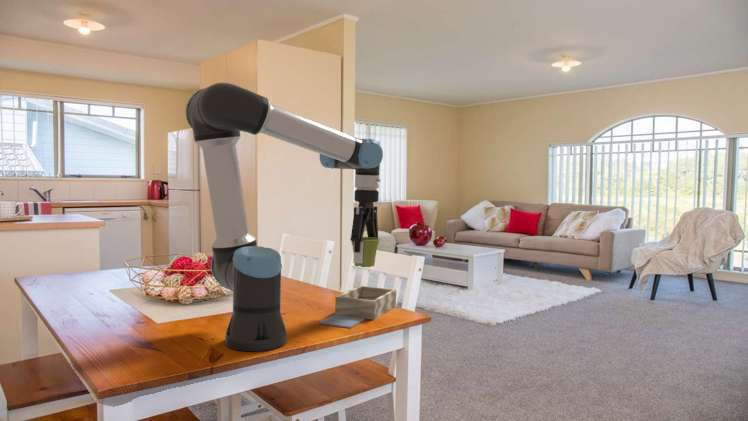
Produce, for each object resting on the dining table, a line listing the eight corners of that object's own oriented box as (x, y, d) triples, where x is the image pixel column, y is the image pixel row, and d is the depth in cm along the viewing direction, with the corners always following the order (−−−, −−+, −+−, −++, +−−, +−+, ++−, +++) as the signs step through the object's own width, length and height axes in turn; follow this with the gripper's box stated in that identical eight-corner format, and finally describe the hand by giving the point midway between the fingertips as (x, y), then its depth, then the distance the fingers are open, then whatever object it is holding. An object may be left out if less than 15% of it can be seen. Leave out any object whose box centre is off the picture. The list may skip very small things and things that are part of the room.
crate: (374, 319, 156) (375, 301, 156) (335, 314, 161) (335, 296, 161) (395, 306, 174) (396, 289, 174) (359, 301, 179) (360, 285, 179)
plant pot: (353, 268, 159) (354, 240, 159) (346, 263, 168) (347, 236, 168) (382, 268, 162) (383, 240, 161) (374, 263, 171) (375, 236, 170)
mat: (350, 328, 147) (350, 326, 147) (318, 323, 150) (318, 322, 150) (364, 319, 156) (364, 318, 156) (334, 315, 160) (334, 314, 160)
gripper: (364, 189, 152) (361, 266, 153) (390, 189, 173) (387, 257, 174) (340, 188, 155) (338, 264, 156) (368, 189, 175) (366, 255, 177)
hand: (364, 260), depth 165 cm, fingers closed on plant pot, 9 cm apart
